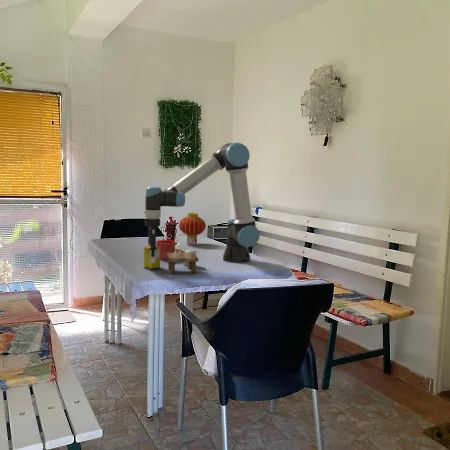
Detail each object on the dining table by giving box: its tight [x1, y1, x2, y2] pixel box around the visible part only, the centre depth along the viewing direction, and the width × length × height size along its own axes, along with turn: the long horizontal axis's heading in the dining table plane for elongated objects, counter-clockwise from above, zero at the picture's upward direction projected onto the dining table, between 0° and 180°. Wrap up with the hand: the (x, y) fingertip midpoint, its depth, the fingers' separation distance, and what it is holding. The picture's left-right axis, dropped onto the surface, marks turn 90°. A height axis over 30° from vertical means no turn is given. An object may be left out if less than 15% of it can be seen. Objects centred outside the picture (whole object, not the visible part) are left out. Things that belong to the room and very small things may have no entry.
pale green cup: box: [183, 249, 197, 268], centre depth 251 cm, size 6×6×8 cm
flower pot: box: [156, 239, 176, 261], centre depth 266 cm, size 11×11×10 cm
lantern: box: [178, 212, 207, 246], centre depth 311 cm, size 17×17×30 cm
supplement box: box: [143, 245, 161, 271], centre depth 243 cm, size 6×6×11 cm
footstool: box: [166, 252, 199, 275], centre depth 239 cm, size 14×14×8 cm
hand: (151, 260), depth 243 cm, fingers open, 13 cm apart
